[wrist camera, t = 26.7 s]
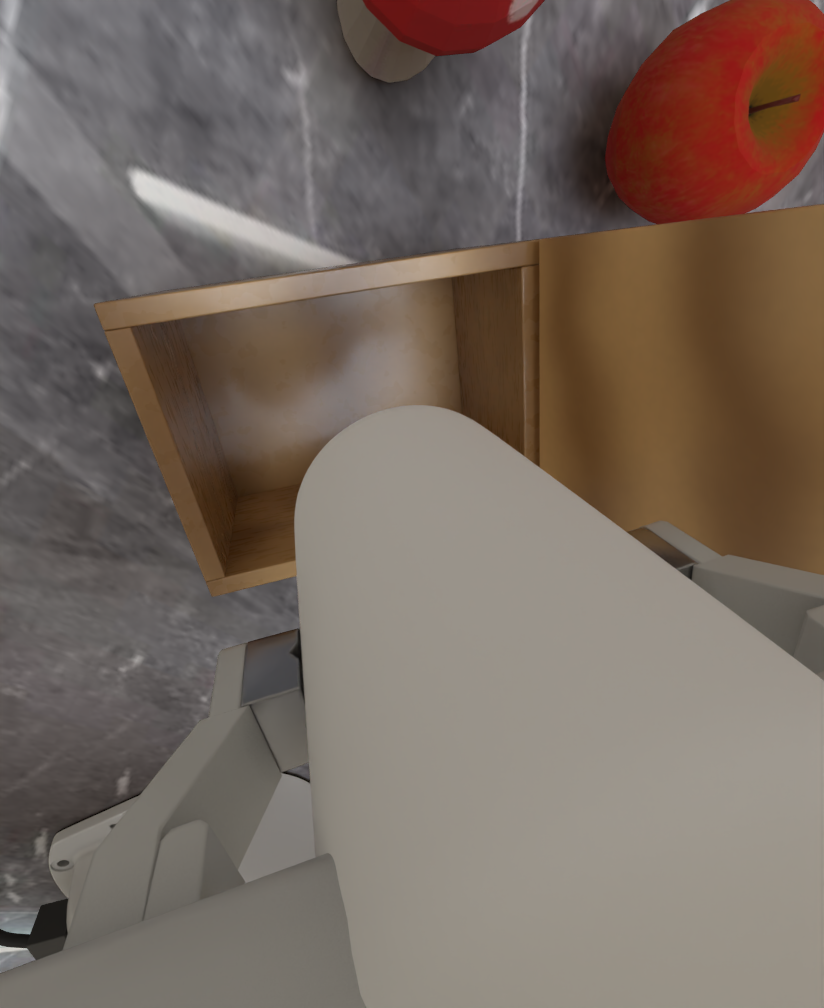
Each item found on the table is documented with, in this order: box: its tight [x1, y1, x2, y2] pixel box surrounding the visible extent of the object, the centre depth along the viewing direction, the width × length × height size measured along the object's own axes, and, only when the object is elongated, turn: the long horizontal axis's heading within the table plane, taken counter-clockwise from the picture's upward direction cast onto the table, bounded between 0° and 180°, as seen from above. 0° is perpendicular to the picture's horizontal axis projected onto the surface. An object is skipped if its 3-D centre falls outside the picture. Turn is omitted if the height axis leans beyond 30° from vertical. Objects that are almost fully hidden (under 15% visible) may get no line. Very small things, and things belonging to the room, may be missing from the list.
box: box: [94, 239, 540, 597], centre depth 25 cm, size 17×13×10 cm
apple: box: [605, 0, 824, 224], centre depth 23 cm, size 9×8×11 cm
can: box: [294, 405, 824, 1008], centre depth 9 cm, size 6×6×12 cm
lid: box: [539, 204, 824, 575], centre depth 15 cm, size 18×13×5 cm
